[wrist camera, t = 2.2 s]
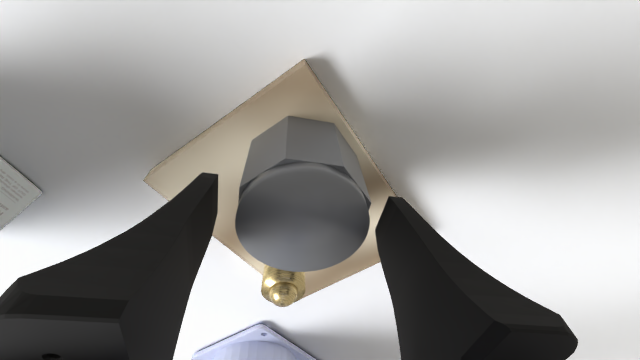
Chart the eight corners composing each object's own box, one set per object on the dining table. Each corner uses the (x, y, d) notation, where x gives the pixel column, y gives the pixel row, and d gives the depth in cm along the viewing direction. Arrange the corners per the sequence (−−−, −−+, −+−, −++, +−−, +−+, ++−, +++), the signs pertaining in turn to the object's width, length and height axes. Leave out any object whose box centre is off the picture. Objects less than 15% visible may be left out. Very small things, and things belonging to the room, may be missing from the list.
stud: (312, 254, 20) (314, 306, 17) (281, 270, 20) (278, 322, 17) (289, 232, 18) (287, 284, 15) (257, 249, 19) (250, 302, 16)
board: (419, 230, 20) (424, 241, 19) (295, 289, 23) (295, 301, 22) (304, 58, 14) (304, 64, 13) (150, 170, 16) (143, 180, 16)
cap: (370, 175, 16) (392, 237, 13) (291, 220, 18) (289, 287, 14) (315, 96, 14) (322, 145, 10) (227, 156, 15) (205, 218, 11)
